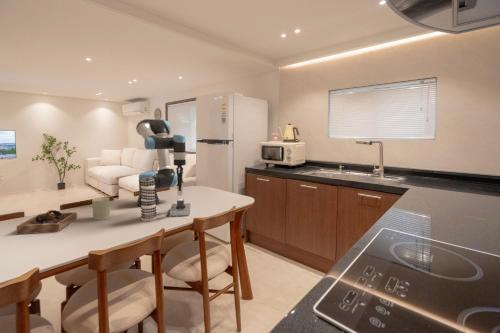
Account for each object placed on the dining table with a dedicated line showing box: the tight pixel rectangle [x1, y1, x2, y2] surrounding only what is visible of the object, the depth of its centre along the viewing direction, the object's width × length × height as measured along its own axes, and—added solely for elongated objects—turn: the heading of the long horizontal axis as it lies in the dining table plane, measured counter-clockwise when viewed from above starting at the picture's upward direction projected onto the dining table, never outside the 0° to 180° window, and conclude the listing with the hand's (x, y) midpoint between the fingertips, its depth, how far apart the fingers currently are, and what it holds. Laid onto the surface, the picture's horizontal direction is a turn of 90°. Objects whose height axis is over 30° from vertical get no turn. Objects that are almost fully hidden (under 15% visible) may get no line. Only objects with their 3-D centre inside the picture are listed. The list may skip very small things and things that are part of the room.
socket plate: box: [169, 203, 191, 217], centre depth 172 cm, size 12×16×4 cm
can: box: [91, 196, 111, 221], centre depth 158 cm, size 9×9×12 cm
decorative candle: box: [140, 177, 157, 222], centre depth 157 cm, size 9×9×25 cm
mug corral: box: [16, 211, 78, 235], centre depth 145 cm, size 19×21×4 cm
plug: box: [176, 198, 185, 209], centre depth 172 cm, size 4×4×8 cm
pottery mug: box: [35, 209, 62, 224], centre depth 147 cm, size 12×10×8 cm
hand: (180, 194), depth 171 cm, fingers open, 7 cm apart
